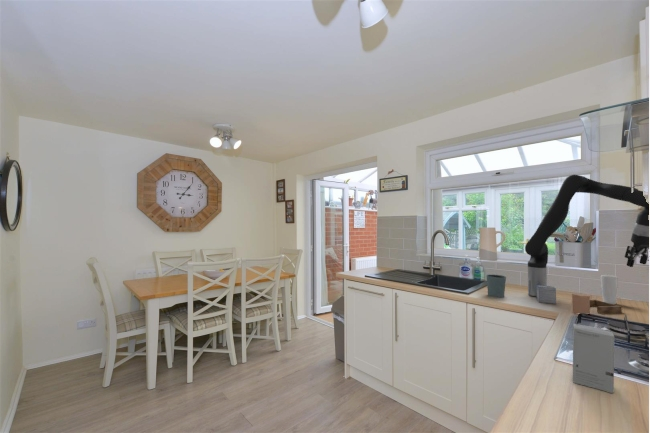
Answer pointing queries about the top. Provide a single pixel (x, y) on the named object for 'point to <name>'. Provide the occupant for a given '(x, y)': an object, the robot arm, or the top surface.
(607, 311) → the frame
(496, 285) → the green plant pot
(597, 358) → the grey upright rectangular block
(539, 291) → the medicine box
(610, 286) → the drinking glass
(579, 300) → the terracotta block
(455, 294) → the top surface
